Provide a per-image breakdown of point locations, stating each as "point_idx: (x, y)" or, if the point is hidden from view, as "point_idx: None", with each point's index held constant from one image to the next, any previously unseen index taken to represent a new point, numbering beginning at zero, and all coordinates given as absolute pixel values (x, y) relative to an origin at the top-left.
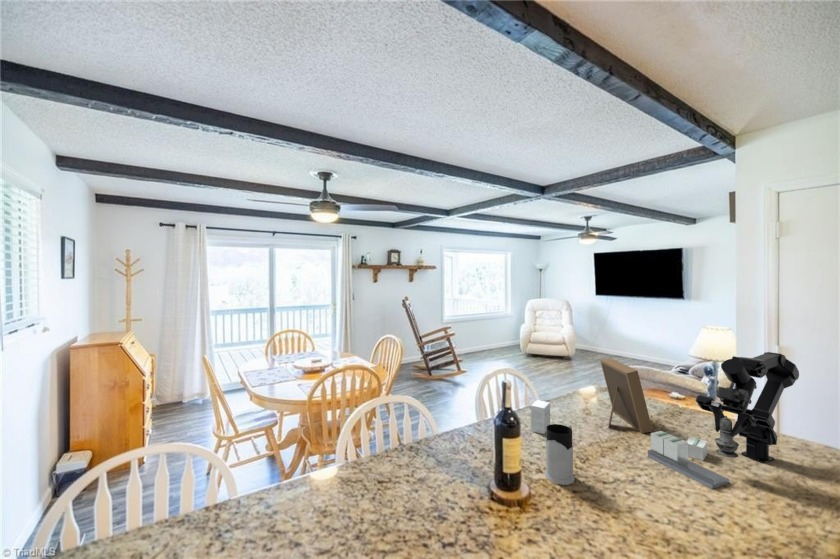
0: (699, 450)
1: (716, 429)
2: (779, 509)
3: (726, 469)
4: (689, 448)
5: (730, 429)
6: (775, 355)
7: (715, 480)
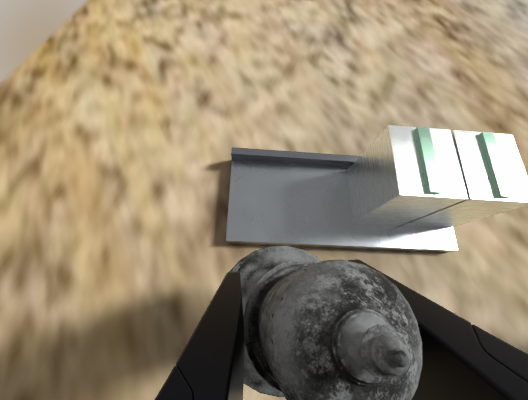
0: None
1: (354, 261)
2: (77, 217)
3: None
4: None
5: (260, 307)
6: None
7: (242, 188)
